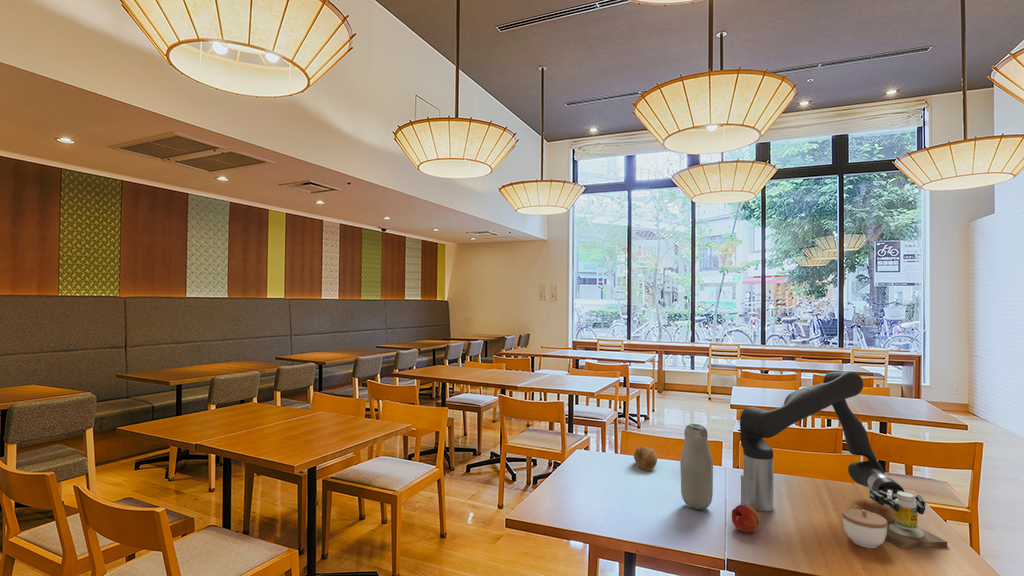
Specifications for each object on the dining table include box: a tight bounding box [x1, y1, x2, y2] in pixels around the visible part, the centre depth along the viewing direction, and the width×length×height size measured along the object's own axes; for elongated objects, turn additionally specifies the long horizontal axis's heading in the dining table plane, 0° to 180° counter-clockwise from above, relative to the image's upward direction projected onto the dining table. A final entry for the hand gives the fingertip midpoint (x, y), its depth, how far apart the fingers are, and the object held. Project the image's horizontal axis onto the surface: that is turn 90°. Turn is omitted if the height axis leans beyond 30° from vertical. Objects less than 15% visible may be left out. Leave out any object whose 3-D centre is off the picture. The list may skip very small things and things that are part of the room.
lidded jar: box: [841, 508, 888, 549], centre depth 140 cm, size 11×11×9 cm
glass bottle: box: [679, 423, 714, 511], centre depth 164 cm, size 10×10×28 cm
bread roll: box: [633, 446, 658, 471], centre depth 205 cm, size 10×15×8 cm, turn 169°
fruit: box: [731, 503, 761, 534], centre depth 147 cm, size 8×8×8 cm
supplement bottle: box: [893, 491, 918, 530], centre depth 145 cm, size 5×5×10 cm
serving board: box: [885, 520, 948, 548], centre depth 145 cm, size 14×13×2 cm
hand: (909, 509), depth 142 cm, fingers closed on supplement bottle, 5 cm apart
